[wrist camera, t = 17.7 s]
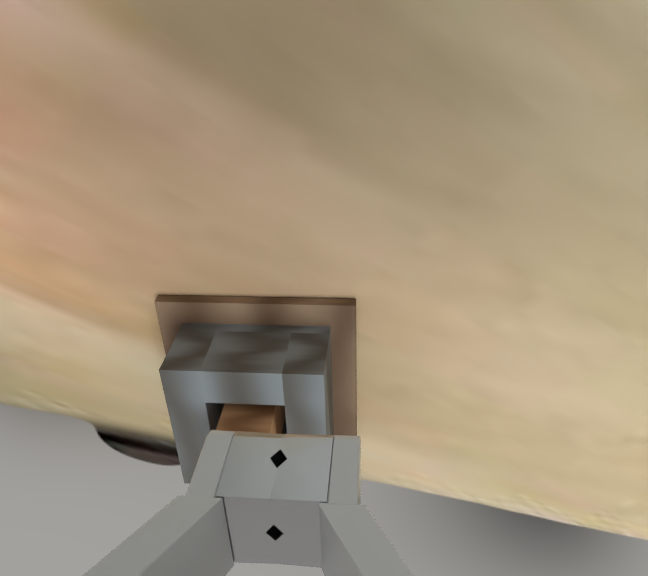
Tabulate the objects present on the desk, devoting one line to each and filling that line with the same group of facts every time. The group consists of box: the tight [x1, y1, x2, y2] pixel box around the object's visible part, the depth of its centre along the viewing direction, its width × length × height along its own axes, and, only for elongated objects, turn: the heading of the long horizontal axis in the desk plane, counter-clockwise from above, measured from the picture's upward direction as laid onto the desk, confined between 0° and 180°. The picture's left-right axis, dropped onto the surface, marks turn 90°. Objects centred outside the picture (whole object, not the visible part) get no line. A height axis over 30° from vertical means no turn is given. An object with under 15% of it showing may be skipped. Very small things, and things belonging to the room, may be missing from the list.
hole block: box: [155, 295, 357, 483], centre depth 48 cm, size 16×16×7 cm
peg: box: [216, 403, 285, 434], centre depth 45 cm, size 4×4×10 cm
